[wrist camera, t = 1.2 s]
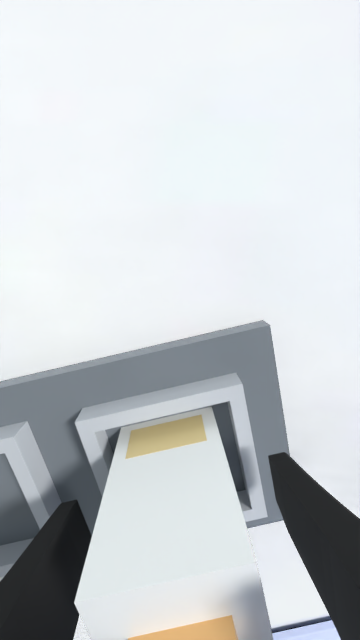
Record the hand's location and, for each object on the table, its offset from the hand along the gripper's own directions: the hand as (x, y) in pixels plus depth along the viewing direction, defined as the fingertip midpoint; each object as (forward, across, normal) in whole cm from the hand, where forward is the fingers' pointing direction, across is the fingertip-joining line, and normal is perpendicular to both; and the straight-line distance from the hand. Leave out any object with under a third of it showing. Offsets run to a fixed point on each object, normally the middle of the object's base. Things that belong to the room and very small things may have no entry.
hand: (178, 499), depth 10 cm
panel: (+3, +4, 0) cm, 5 cm away
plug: (+2, 0, 0) cm, 2 cm away
